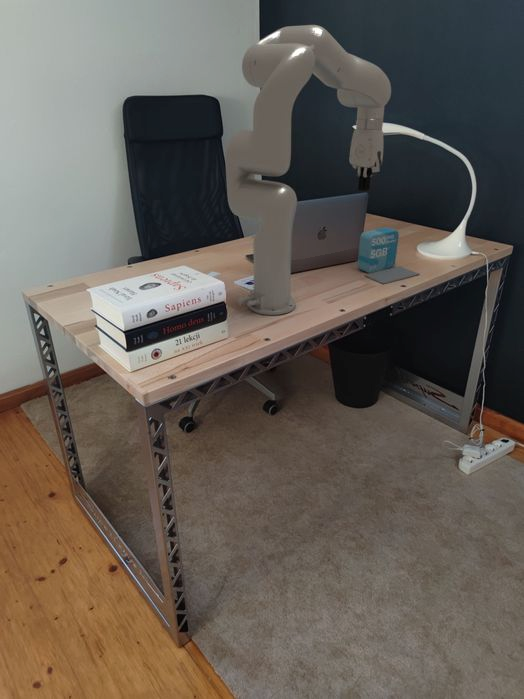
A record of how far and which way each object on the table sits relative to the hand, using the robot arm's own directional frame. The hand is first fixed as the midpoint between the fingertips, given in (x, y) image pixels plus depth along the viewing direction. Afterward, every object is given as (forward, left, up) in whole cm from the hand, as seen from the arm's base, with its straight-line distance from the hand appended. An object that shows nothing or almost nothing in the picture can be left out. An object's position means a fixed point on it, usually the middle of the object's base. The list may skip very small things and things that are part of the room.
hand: (363, 189), depth 156 cm
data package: (0, -9, -23) cm, 25 cm away
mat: (-1, -17, -23) cm, 28 cm away
